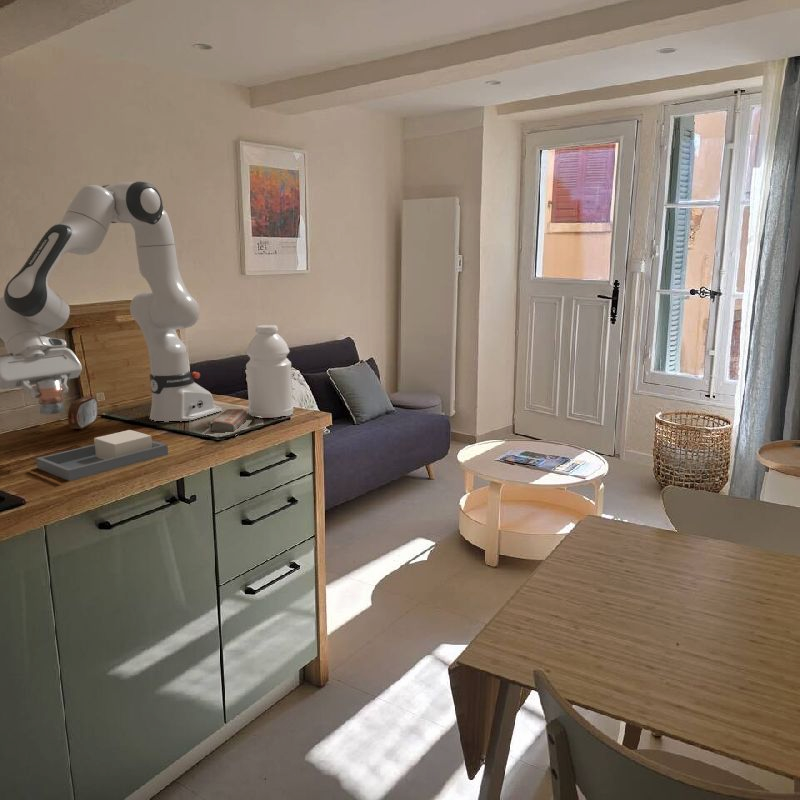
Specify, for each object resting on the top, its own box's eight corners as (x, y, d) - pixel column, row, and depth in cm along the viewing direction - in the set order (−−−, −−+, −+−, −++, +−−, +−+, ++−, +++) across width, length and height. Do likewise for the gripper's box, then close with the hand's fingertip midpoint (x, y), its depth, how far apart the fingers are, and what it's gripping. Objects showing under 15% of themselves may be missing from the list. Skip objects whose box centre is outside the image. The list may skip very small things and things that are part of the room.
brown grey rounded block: (91, 419, 226) (88, 393, 224) (101, 419, 226) (98, 393, 224) (68, 432, 211) (64, 404, 209) (79, 432, 211) (75, 404, 209)
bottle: (281, 407, 239) (276, 322, 232) (301, 414, 228) (297, 326, 221) (241, 413, 230) (235, 325, 224) (260, 421, 220) (255, 330, 213)
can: (58, 408, 185) (54, 377, 183) (68, 411, 181) (65, 379, 180) (35, 412, 181) (31, 380, 179) (45, 415, 177) (41, 383, 175)
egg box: (131, 447, 192) (129, 429, 191) (152, 454, 186) (151, 435, 185) (96, 456, 185) (94, 438, 184) (116, 464, 179) (114, 444, 178)
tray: (134, 445, 196) (133, 435, 196) (168, 456, 186) (167, 444, 186) (37, 470, 177) (36, 458, 176) (69, 483, 167) (68, 470, 166)
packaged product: (220, 407, 220) (252, 407, 219) (221, 423, 221) (253, 423, 220) (200, 422, 202) (235, 422, 202) (201, 439, 203) (236, 439, 203)
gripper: (-13, 348, 174) (10, 393, 170) (70, 339, 189) (93, 379, 185) (-18, 365, 178) (4, 409, 174) (64, 354, 193) (86, 394, 189)
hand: (51, 394), depth 180 cm, fingers closed on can, 6 cm apart
